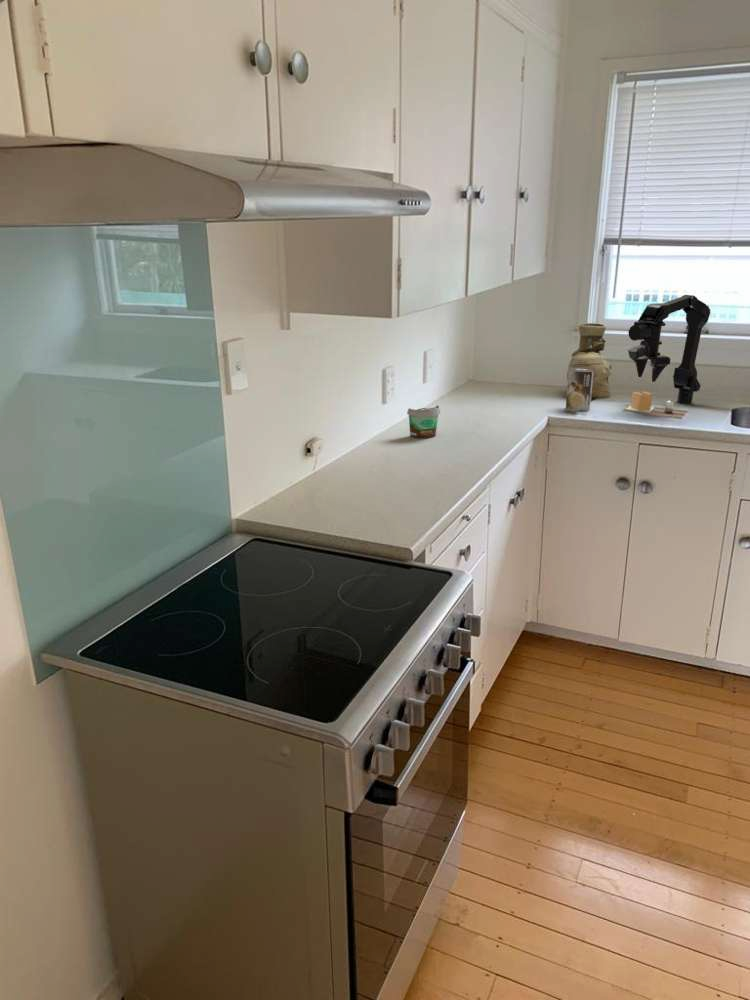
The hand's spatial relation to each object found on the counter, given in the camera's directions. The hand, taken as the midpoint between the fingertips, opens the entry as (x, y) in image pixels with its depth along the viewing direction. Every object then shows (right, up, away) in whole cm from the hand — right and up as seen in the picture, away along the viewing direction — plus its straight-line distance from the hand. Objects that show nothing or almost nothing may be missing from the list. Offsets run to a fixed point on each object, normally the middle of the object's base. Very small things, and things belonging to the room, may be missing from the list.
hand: (646, 379), depth 289 cm
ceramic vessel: (-14, -2, +30) cm, 33 cm away
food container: (-87, -25, -32) cm, 96 cm away
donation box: (-1, -11, +4) cm, 11 cm away
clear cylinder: (+8, -13, -1) cm, 15 cm away
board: (+4, -13, +2) cm, 14 cm away
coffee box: (-25, -12, +6) cm, 28 cm away
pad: (-1, -11, +4) cm, 12 cm away
